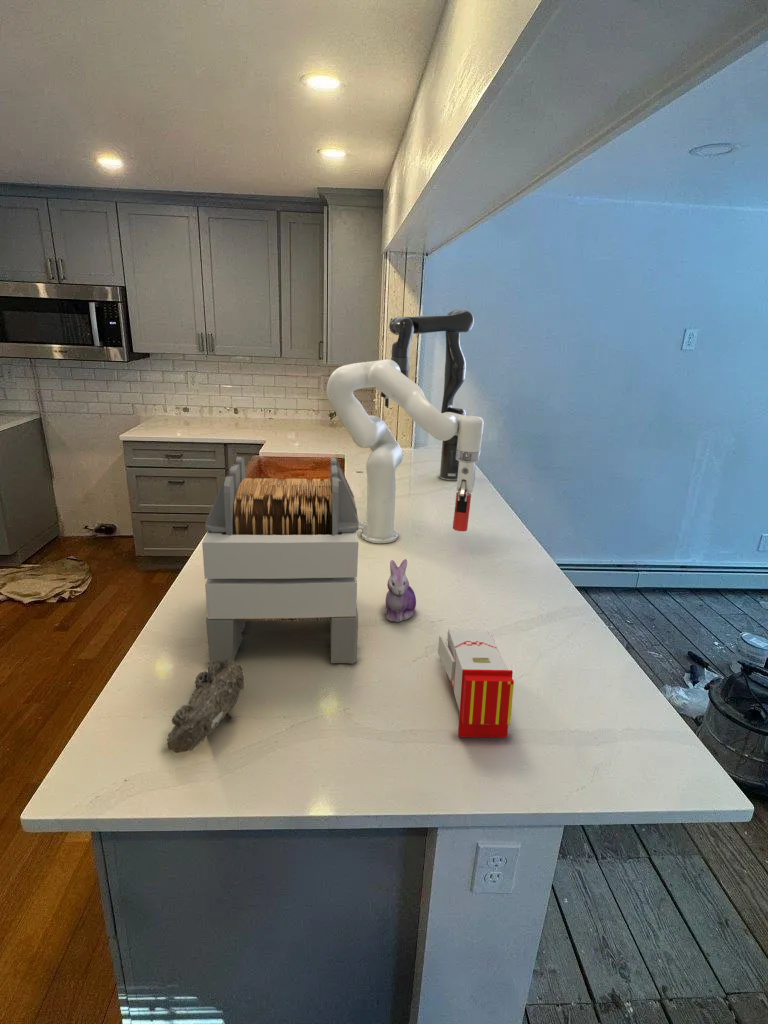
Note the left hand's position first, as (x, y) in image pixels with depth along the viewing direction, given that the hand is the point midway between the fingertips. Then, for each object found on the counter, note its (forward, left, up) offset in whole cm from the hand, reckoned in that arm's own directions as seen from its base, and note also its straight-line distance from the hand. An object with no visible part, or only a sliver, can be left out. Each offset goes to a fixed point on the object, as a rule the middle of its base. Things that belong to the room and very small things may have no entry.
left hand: (462, 508), depth 186 cm
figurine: (-7, -49, -14) cm, 52 cm away
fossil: (-30, -99, -14) cm, 105 cm away
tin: (0, 0, -7) cm, 7 cm away
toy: (+15, -75, -14) cm, 78 cm away
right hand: (-38, +55, +21) cm, 70 cm away
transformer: (-31, -65, -14) cm, 73 cm away
